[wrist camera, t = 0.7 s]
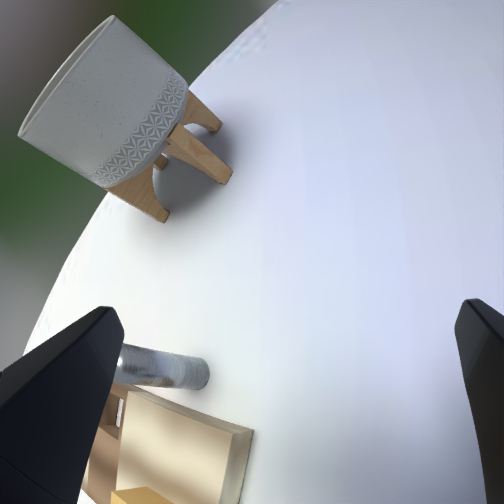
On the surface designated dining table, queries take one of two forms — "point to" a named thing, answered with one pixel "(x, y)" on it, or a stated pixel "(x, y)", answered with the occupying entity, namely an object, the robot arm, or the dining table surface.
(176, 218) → the dining table surface
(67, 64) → the planter
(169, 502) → the block
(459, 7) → the dining table surface
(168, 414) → the subfloor board
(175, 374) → the peg
